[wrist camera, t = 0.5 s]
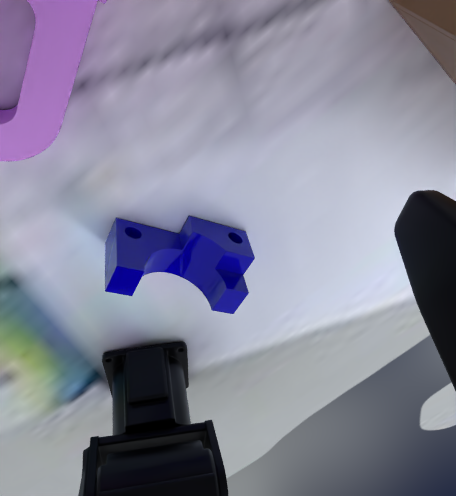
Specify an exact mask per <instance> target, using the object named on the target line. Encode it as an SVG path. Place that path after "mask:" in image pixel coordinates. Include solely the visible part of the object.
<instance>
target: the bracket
mask: <svg viewBox="0 0 456 496" xmlns="http://www.w3.org/2000/svg"><path fill="white" fill-rule="evenodd" d="M27 1H28V2H29V4H30V5H31V7H32V9H33V11H34V14H35V18H36V26H35V30H34V35H33V39H32V44H31V48H30V53H29V57H28V62H27V66H26V71H25V75H24V80H23V84H22V89H21V93H20V98H19V102H18V105H17V106H16V107H14V108H12V109H9V110H0V161H18V160H23V159H27V158H30V157H33V156H35V155H37V154H39V153H41V152H42V151H44V150H45V149H46V148H48V147H49V146H50V145H51V144H52V143H53V141H54V140H55V138H56V137H57V135H58V133H59V131H60V128H61V125H62V122H63V118H64V115H65V111H66V108H67V104H68V101H69V98H70V94H71V91H72V87H73V84H74V80H75V77H76V74H77V70H78V67H79V63H80V60H81V56H82V53H83V49H84V46H85V43H86V39H87V36H88V32H89V29H90V25H91V22H92V19H93V15H94V12H95V8H96V5H97V1H100V2H102V3H104V4H105V3H106V1H107V0H27Z"/></svg>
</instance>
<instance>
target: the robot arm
mask: <svg viewBox="0 0 456 496" xmlns="http://www.w3.org/2000/svg"><path fill="white" fill-rule="evenodd" d="M394 232H395V237H396V241H397V244H398V247H399V250H400V253H401V256H402V259H403V262H404V265H405V269H406V272H407V275H408V278H409V281H410V284H411V287H412V290H413V293H414V296H415V299H416V302H417V305H418V307H419V309H420V312H421V314H422V316H423V319H424V321H425V323H426V325H427V328H428V330H429V332H430V334H431V337H432V339H433V341H434V343H435V346H436V348H437V350H438V352H439V354H440V357H441V359H442V361H443V364H444V366H445V368H446V370H447V372H448V375H449V377H450V379H451V382H452V384H453V386H454V388H455V391H456V201H454V200H453V199H451V198H449V197H447V196H445V195H444V194H442V193H440V192H438V191H434V190H426V191H416V192H413V193H412V194H411V195H410V196H409V198H408V200H407V202H406V204H405V206H404V208H403V210H402V211H401V213H400V215H399V217H398V219H397V221H396V223H395V229H394ZM102 362H103V366H104V369H105V373H106V377H107V380H108V384H109V388H110V391H111V395H112V398H113V435H112V436H106V437H99V436H96V437H91V439H90V447H88V448H87V449H85V450H84V451H83V469H82V479H81V484H80V490H79V495H78V496H228V489H227V488H228V487H227V480H226V474H225V469H224V465H223V461H222V457H221V453H220V449H219V445H218V441H217V437H216V433H215V430H214V426H213V422H212V420H207V421H205V422H202V423H195V424H191V421H190V414H189V407H188V400H187V393H186V388H188V386H189V383H188V358H187V345H186V343H185V342H177V343H169V344H162V345H155V346H148V347H141V348H134V349H127V350H120V351H113V352H107V353H104V354H103V355H102Z"/></svg>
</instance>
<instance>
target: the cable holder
mask: <svg viewBox="0 0 456 496" xmlns="http://www.w3.org/2000/svg"><path fill="white" fill-rule="evenodd" d="M254 259H255V257H254V254H253V251H252V248H251V246H250V243H249V240H248V237H247V234H246V231H242V230H239V229H235V228H231V227H228V226H224V225H221V224H217V223H213V222H210V221H206V220H203V219H199V218H195V217H192V216H189V217H188V218H187V220H186V222H185V224H184V226H183V228H182V230H181V231H180V233H179V234H178V233H174V232H170V231H166V230H162V229H158V228H154V227H150V226H146V225H143V224H139V223H135V222H131V221H127V220H123V219H119V218H116V219H115V221H114V223H113V226H112V228H111V230H110V233H109V235H108V238H107V240H106V242H105V291H106V292H112V293H117V294H123V295H129V296H132V295H133V293H134V291H135V289H136V287H137V285H138V283H139V281H140V279H141V277H142V276H144V275H146V274H148V273H152V272H167V273H172V274H175V275H178V276H180V277H183V278H185V279H187V280H188V281H190V282H191V283H193V284H194V285H195V286H196V287H198V288H199V289H200V290H201V291H202V293H203V294H204V295H205V296H206V298H207V300H208V301H209V303H210V306H211V309H212V310H213V311H219V312H224V313H230V314H234V312H235V311H236V310H237V308H238V307H239V306H240V304H241V303H242V301H243V300H244V299H245V297H246V296H247V295H248V293H249V292H248V289H247V286H246V283H245V279H244V276H243V274H244V273H245V272H246V270H247V269H248V267H249V266H250V264H251V263H252V262H253V260H254Z"/></svg>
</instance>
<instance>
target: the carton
mask: <svg viewBox="0 0 456 496" xmlns="http://www.w3.org/2000/svg"><path fill="white" fill-rule="evenodd" d="M389 2H390V3H391V4H392V5H393V7H394V8H395V9H396V10H397V12H398V13H399V14H400V15H401V17H402V18H403V19H404V20H405V22H406V23H407V24H408V25H409V27H410V28H411V29H412V30H413V32H414V33H415V34H416V35H417V37H418V38H419V39H420V40H421V42H422V43H423V44H424V46H425V47H426V48H427V49H428V51H429V52H430V53H431V54H432V56H433V57H434V58H435V59H436V61H437V62H438V63H439V64H440V66H441V67H442V68H443V69H444V71H445V72H446V73H447V74H448V76H449V77H450V78H451V79H452V81H453V82H454V83H455V84H456V0H389Z"/></svg>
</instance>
